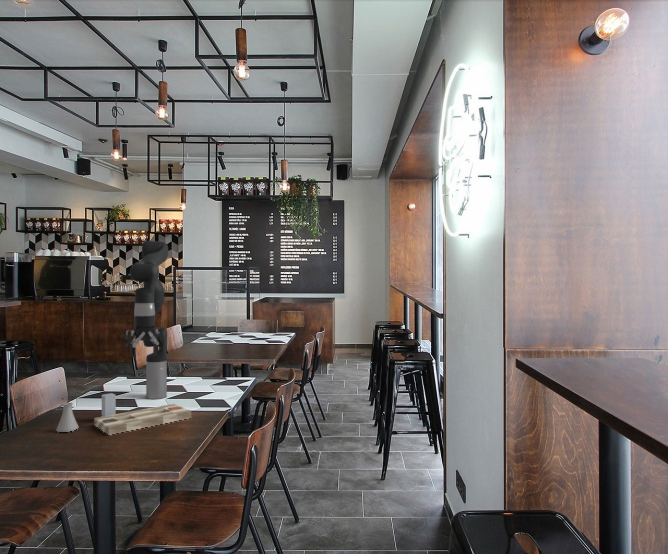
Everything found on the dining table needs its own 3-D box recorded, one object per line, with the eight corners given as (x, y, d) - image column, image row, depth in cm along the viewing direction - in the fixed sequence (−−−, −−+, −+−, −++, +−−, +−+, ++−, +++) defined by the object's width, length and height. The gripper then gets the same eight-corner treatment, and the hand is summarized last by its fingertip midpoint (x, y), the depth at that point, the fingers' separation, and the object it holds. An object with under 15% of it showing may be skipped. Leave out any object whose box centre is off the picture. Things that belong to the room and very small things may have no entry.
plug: (101, 419, 198) (101, 394, 198) (112, 417, 200) (112, 393, 201) (105, 421, 195) (105, 396, 195) (115, 419, 198) (115, 394, 198)
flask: (83, 428, 186) (83, 402, 186) (66, 434, 179) (67, 406, 179) (68, 426, 188) (68, 400, 188) (51, 432, 182) (51, 405, 182)
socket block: (94, 426, 189) (94, 417, 189) (173, 410, 211) (173, 403, 211) (108, 435, 178) (108, 426, 178) (191, 418, 199) (191, 410, 199)
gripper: (158, 313, 202) (158, 352, 202) (122, 314, 192) (122, 356, 192) (166, 314, 197) (166, 354, 197) (130, 315, 187) (129, 358, 187)
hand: (144, 355), depth 194 cm, fingers open, 8 cm apart
